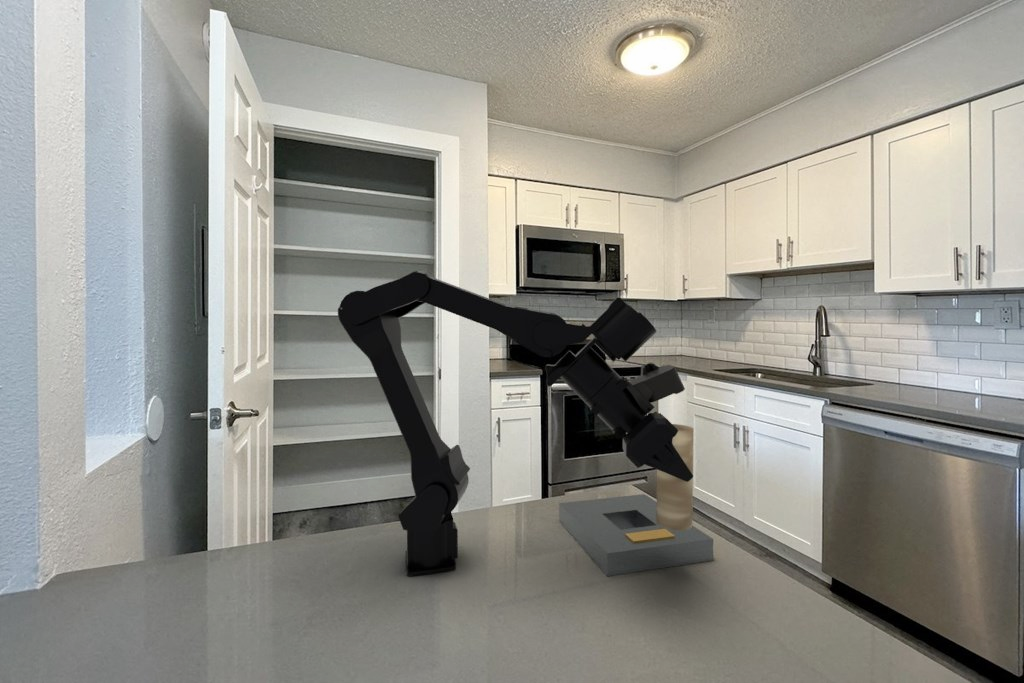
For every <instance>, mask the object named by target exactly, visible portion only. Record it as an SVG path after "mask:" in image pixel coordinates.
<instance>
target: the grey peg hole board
mask: <svg viewBox="0 0 1024 683" xmlns="http://www.w3.org/2000/svg"><path fill="white" fill-rule="evenodd" d="M656 519H657V500H654V499H653V498H651V497H650V496H648V495H647V494H645V493H643V494H634V495H633V494H632V495H623V496H613V497H604V498H596V499H595V498H593V499H585V500H575V501H564V502H559V503H558V521H559V522H560V523H561V525H562V526H563V527H564V528H565V529H566V530H567V532H568V533H569V534H570V535H571V536H572V537H573V539H574V540H575V541H576V542H577V543H578V545H580V547H581V548H582V549H583V551H585V553H586V554H587V555H589V557H590V558H591V559H592V560H593V562H594V563H595V564H596V566H598V568H599V569H600V570H601V571H602V572H603V573H604V574H605V576H606V577H610V576H619V575H625V574H626V575H627V574H630V573H639V572H645V571H651V570H658V569H664V568H672V567H677V566H685V565H691V564H698V563H699V564H700V563H705V562H711V561H714V538H713V537H711V536H709V535H708V534H706V533H705V532H704V531H702V530H701V529H699V528H698V527H696V526H694V525H693V524H692V528H690V529H688V530H671V529H667V528H664V527H662V526H660V525H659V524H658V523H657V521H656Z"/></svg>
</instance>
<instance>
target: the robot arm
mask: <svg viewBox="0 0 1024 683" xmlns="http://www.w3.org/2000/svg"><path fill="white" fill-rule="evenodd" d="M425 304H427V305H431V306H433V307H436V308H438V309H440V310H441V309H442V310H443V311H447V312H449V313H451V314H454V315H457V316H460V317H462V318H464V319H467V320H470V321H472V322H475V323H477V324H480V325H482V326H485V327H488V328H490V329H494V330H495V331H498V332H499V333H501V334H503V335H504V336H506V338H507V337H508V339H510V340H512V341H513V342H515V343H517V344H518V345H520V346H522V347H523V348H525V349H526V350H527V351H529V352H532V353H533V354H535V355H537V356H539V357H543V358H551V357H555V356H557V355H560V354H561V353H562V352H563V351H564V350H565V349H566V348H567V346H571V345H576V344H582V343H584V342H585V341H586V340H587V339H588V338H589V337H590V336H591V335H592V339H590V340H589V341H588V342H587V344H585V345H584V346H583V347H582V348H581V349H580V350H578V352H577V353H576V354H575V353H573V352H572V351H571V350H568V351H567V352H566V353H565V354H564V355H563V356H562V357H561V358H560V359H559V360H558V361H557V362H556V363H555V364H549V363H548V364H546V365H545V367H544V368H545V370H546V372H545V373H546V385H547V387H552V386H553V385H554V384H555V383H556V382H557V381H558V380H560V379H561V380H562V381H563V382H564V383H565V384H566V385H568V387H569V388H570V389H571V390H572V391H573V392H574V393H575V394H576V395H577V396H578V397H579V398H580V399H581V400H582V401H583V402H584V403H585V404H586V405H587V406H588V407H589V409H590V410H589V411H591V412H592V413H593V415H594V416H598V417H599V418H600V420H601V421H602V422H604V423H605V425H606V426H608V428H609V429H610V430H611V431H612V433H613V435H615V437H616V438H617V439H618V440H620V439H622V450H623V452H624V454H625V457H627V459H628V460H630V462H631V463H632V464H634V466H636V468H638V469H639V468H641V467H643V466H644V465H645V466H648V467H649V468H650V467H651V468H652V469H655V470H657V469H658V470H660V471H662V472H665V473H667V474H670V475H672V476H674V477H677V478H679V479H681V480H684V481H686V482H688V481H690V480H691V479H692V478H693V479H694V473H693V474H692V473H691V471H690V470H689V468H688V467H687V465H686V464H685V462H684V461H683V459H682V458H681V456H680V455H679V453H678V452H677V450H676V449H675V447H674V446H673V444H672V439H673V437H674V436H675V435H676V434H677V432H678V429H677V428H676V427H675V426H674V425H673V423H672V422H671V421H669V419H668V418H667V417H665V416H664V414H662V413H661V412H660V413H659V412H657V411H654V412H652V411H653V410H654V408H655V406H654V405H653V403H654V402H657V401H659V400H662V399H664V398H667V397H670V396H672V395H678V394H680V393H682V392H684V391H685V389H686V388H685V386H684V384H683V381H682V380H681V378H680V375H679V373H678V371H677V368H676V366H674V365H671V364H666V365H664V364H662V365H661V367H658V366H657V365H656V364H655V363H653V362H650V361H649V362H647V363H646V364H643V365H640V375H639V376H636V378H634V379H632V380H629V379H627V378H626V377H625V376H623V375H621V376H620V374H618V373H617V371H616V370H615V369H613V368H612V366H610V365H609V364H608V363H607V361H605V360H604V358H603V357H602V356H600V354H598V353H597V352H596V350H594V349H593V346H594V345H595V346H596V347H598V349H599V350H600V351H601V352H602V353H603V354H604V355H605V356H606V357H607V358H608V359H609V360H610V361H612V363H615V362H616V361H617V360H618V361H620V360H622V361H623V362H625V363H626V362H627V361H628V360H629V359H630V358H631V357H632V356H633V355H634V354H635V353H636V352H637V351H639V350H640V348H642V347H643V346H644V345H646V343H648V341H649V340H650V339H651V338H652V337H653V336H654V335H655V334H656V333H657V332H658V331H657V329H656V328H655V327H654V325H653V324H652V323H651V321H649V319H647V318H646V316H645V315H644V314H643V313H642V312H640V311H639V312H637V310H636V309H634V308H633V307H632V306H631V305H629V303H627V302H625V301H624V300H623V299H622V298H621V297H616V298H614V299H613V301H612V302H611V303H610V304H609V305H608V307H607V308H606V309H605V310H604V312H603V313H601V315H599V316H598V317H597V318H596V320H595V321H593V322H592V323H591V324H590V325H589V326H586V325H585V324H584V323H581V324H580V325H579V324H572V323H567V322H566V320H564V318H563V317H561V316H560V315H558V314H556V313H555V312H549V311H543V310H537V309H532V308H528V307H519V306H515V305H509V304H505V303H503V302H500V301H497V300H494V299H492V298H489V297H487V296H484V295H481V294H478V293H475V292H472V291H471V290H468V289H465V288H462V287H460V286H457V285H454V284H452V283H448V282H446V281H443V280H441V279H437V278H436V277H435V276H433V275H432V274H430V273H428V272H424V271H422V270H421V271H420V270H414V271H412V272H410V273H408V274H406V275H405V276H402V277H400V278H398V279H396V280H393V281H389V282H386V283H383V284H380V285H377V286H374V287H372V288H369V289H367V290H366V291H365V290H355V291H351V292H349V293H348V294H346V295H345V296H344V297H343V299H342V300H341V301H340V304H339V307H338V308H337V317H338V321H339V322H340V324H341V326H342V327H343V329H344V331H345V332H346V333H347V335H348V337H349V338H350V340H351V341H352V343H353V344H354V345H355V346H356V347H357V348H358V349H359V350H360V351H361V352H363V354H364V355H365V356H366V357H367V358H368V359H369V362H370V363H371V366H372V369H373V371H374V373H375V375H376V377H377V380H378V383H379V384H380V388H381V389H382V392H383V394H384V396H385V399H386V401H387V403H388V406H389V408H390V410H391V413H392V414H393V417H394V419H395V421H396V424H397V426H398V429H399V432H400V434H401V436H402V438H403V440H404V442H405V445H406V447H407V450H408V453H409V456H410V480H411V484H412V488H413V492H414V497H413V498H412V499H411V501H409V502H408V504H407V505H406V506H405V507H404V508H403V509H402V510H401V511H400V512H399V513H398V518H399V522H400V525H401V528H402V530H403V531H406V550H405V569H406V572H405V573H406V576H408V577H409V576H417V575H424V574H431V573H432V574H433V573H440V572H446V571H454V570H455V569H457V564H456V560H457V558H458V556H459V555H458V554H459V553H458V552H459V550H458V549H459V546H458V545H459V544H458V541H459V540H458V538H459V537H458V536H459V535H458V534H459V532H458V531H459V530H458V527H457V525H456V522H455V521H454V517H453V514H452V512H453V510H454V509H455V508H456V507H457V505H458V504H459V502H460V501H461V499H462V498H463V496H464V495H465V493H466V491H467V488H468V486H469V484H470V483H469V481H470V480H469V479H470V478H469V475H468V473H469V471H470V470H471V468H470V467H469V466H468V465H467V464H466V462H465V460H464V458H463V454H462V450H461V447H460V445H459V444H455V445H454V446H453V447H451V448H450V447H449V445H447V443H445V442H444V440H442V438H441V436H440V435H439V434H440V433H439V432H438V430H437V427H436V425H435V423H434V420H433V417H432V416H431V413H430V411H429V409H428V407H427V404H426V402H425V400H424V397H423V394H422V393H421V390H420V387H419V385H418V383H417V381H416V379H415V377H414V374H413V371H412V370H411V367H410V364H409V362H408V360H407V358H406V356H405V355H406V354H405V353H404V351H403V350H404V349H403V348H402V331H401V330H402V328H401V325H400V323H401V322H400V320H399V319H401V318H402V317H404V316H407V315H408V314H410V313H412V312H413V311H415V310H416V309H418V308H419V307H421V306H423V305H425Z"/></svg>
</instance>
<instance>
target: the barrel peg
mask: <svg viewBox="0 0 1024 683" xmlns="http://www.w3.org/2000/svg"><path fill="white" fill-rule="evenodd" d="M672 424H673V423H672ZM673 425H674V426H675V427H676V428H677V429H678V432H677V434H676V435H675V436H674V437H673V439H672V444H673V446H674V447H675V449H676V450H677V452H678V453H679V455H680V456H681V458H682V459H683V461H684V462H685V464H686V465H687V467H688V468H689V470H690V471H691V473H692V474H693V475H694V428H693V427H692V426H690V425H686V424H685V425H684V424H678V423H676V424H675V423H674V424H673ZM693 488H694V477H693V478H692V479H691V480H690V481H688V482H686V481H684V480H681V479H679V478H677V477H674V476H672V475H670V474H667V473H665V472H662V471H660V470H658V469H656V502H657V519H656V521H657V523H658V524H659V525H660V526H662V527H664V528H667V529H671V530H688V529H690V528H692V525H693V506H694V502H693V501H694V499H693V498H694V494H693V492H694V491H693V490H694V489H693Z"/></svg>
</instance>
